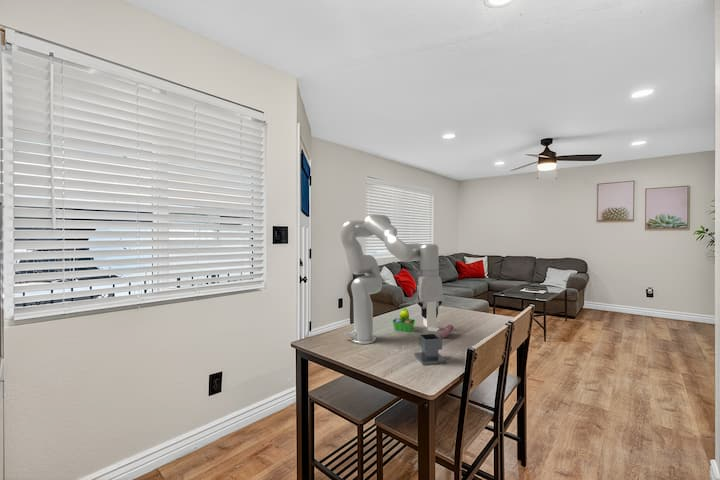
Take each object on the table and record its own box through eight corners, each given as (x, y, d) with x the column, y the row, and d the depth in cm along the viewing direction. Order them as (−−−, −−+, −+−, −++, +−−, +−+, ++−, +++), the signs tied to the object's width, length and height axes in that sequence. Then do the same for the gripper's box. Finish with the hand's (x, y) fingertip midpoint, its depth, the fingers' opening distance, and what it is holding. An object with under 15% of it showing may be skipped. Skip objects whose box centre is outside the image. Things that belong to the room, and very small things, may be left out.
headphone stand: (436, 331, 167) (436, 309, 167) (425, 330, 170) (425, 308, 170) (439, 329, 171) (439, 307, 170) (429, 327, 174) (429, 306, 174)
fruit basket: (391, 330, 170) (391, 310, 170) (396, 326, 178) (396, 306, 178) (412, 333, 166) (412, 311, 165) (416, 328, 174) (415, 308, 173)
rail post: (427, 327, 128) (426, 298, 128) (423, 324, 132) (423, 296, 132) (436, 326, 129) (436, 297, 129) (432, 323, 133) (432, 295, 133)
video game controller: (445, 342, 155) (451, 330, 154) (437, 336, 158) (443, 325, 156) (450, 336, 164) (456, 325, 162) (442, 331, 166) (448, 320, 164)
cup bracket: (423, 365, 125) (422, 341, 125) (414, 355, 135) (414, 333, 135) (446, 363, 127) (446, 339, 127) (436, 353, 137) (436, 332, 137)
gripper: (413, 275, 125) (413, 320, 126) (452, 274, 128) (452, 318, 128) (407, 273, 133) (407, 316, 133) (444, 271, 135) (444, 313, 136)
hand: (429, 316), depth 131 cm, fingers closed on rail post, 4 cm apart
